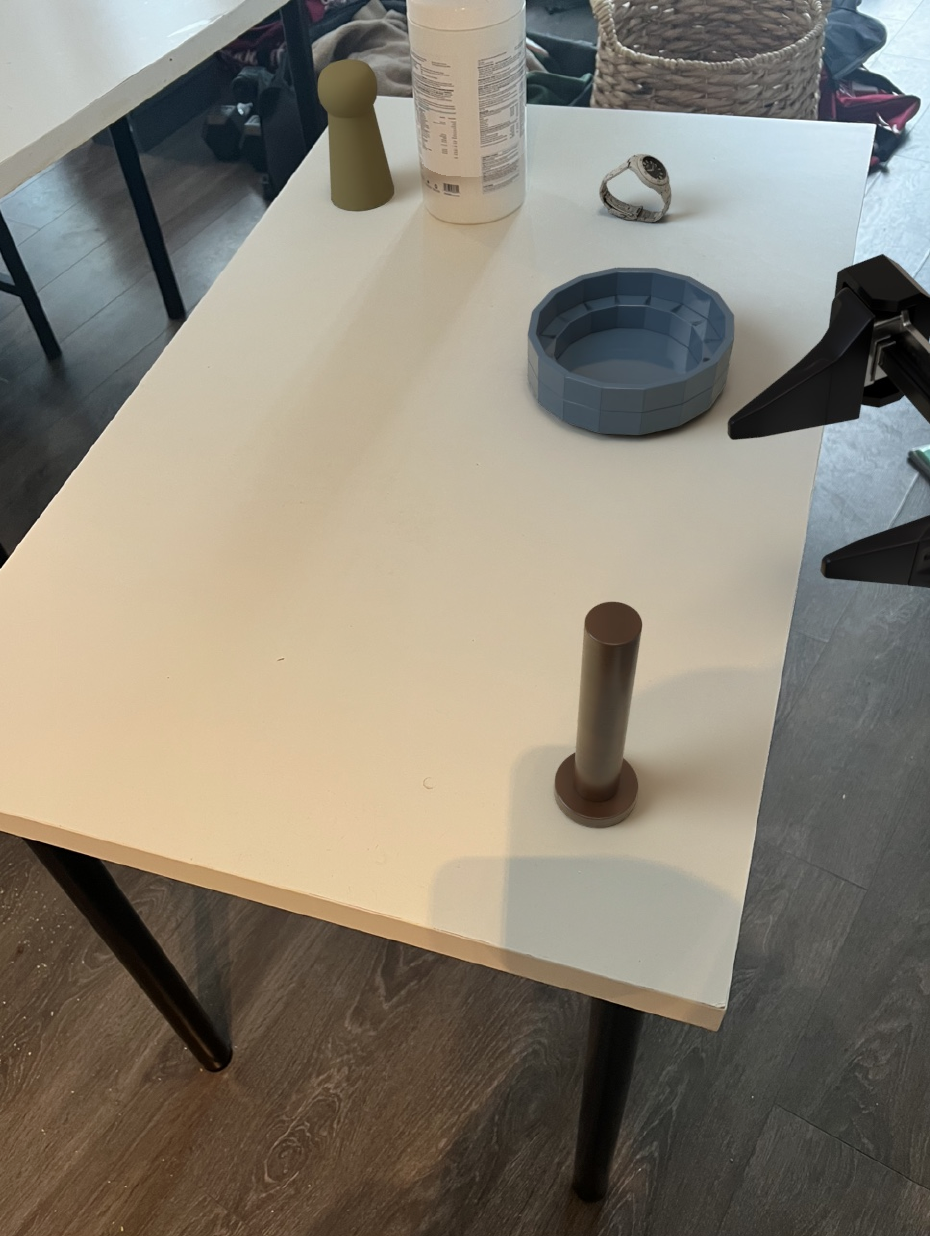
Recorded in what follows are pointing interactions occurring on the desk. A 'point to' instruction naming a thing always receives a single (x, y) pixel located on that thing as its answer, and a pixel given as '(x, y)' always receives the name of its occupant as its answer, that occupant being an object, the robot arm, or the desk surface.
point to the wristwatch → (649, 175)
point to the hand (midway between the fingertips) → (772, 494)
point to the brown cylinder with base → (603, 721)
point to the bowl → (629, 350)
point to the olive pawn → (354, 136)
